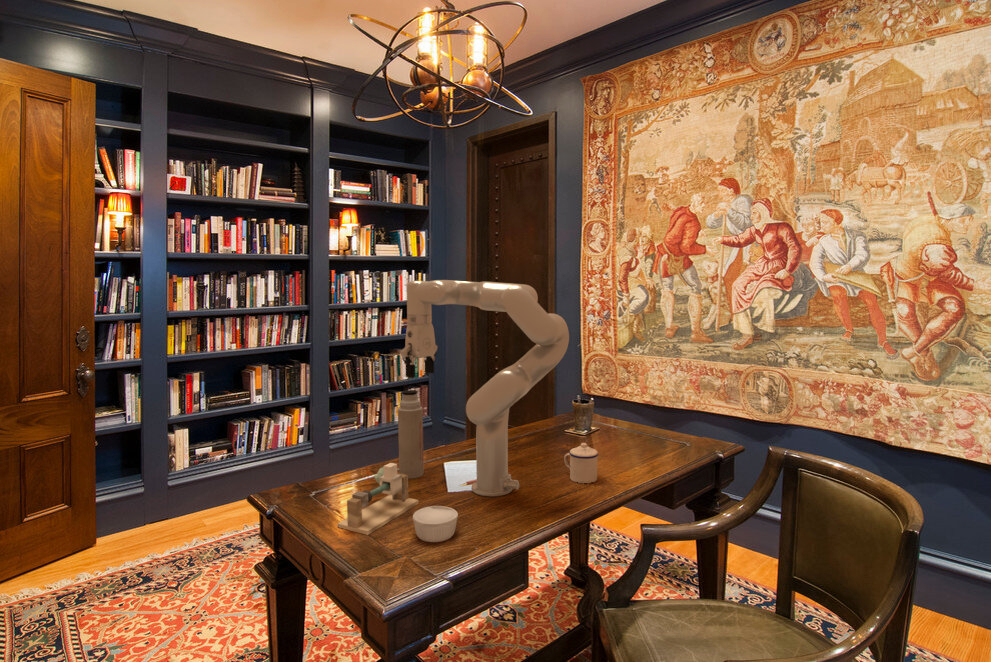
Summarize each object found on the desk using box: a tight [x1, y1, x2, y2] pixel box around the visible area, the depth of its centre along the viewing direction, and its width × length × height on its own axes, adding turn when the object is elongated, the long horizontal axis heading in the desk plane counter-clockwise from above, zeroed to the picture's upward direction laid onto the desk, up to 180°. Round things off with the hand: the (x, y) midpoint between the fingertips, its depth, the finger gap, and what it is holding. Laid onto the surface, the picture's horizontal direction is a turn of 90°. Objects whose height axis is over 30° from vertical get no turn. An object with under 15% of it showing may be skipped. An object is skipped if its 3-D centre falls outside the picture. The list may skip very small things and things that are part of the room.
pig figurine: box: [374, 466, 399, 486], centre depth 168 cm, size 8×4×7 cm, turn 137°
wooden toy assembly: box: [336, 473, 419, 536], centre depth 149 cm, size 22×10×9 cm, turn 153°
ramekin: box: [412, 505, 459, 543], centre depth 137 cm, size 11×11×5 cm
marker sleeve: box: [379, 462, 402, 495], centre depth 153 cm, size 4×5×8 cm
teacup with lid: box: [563, 442, 599, 484], centre depth 176 cm, size 12×9×12 cm
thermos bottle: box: [397, 389, 425, 480], centre depth 179 cm, size 8×8×28 cm
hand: (420, 374), depth 171 cm, fingers open, 9 cm apart
